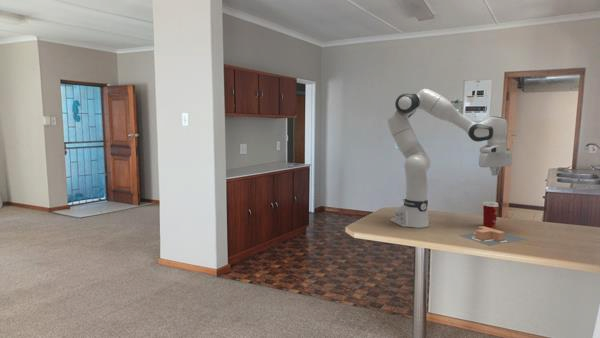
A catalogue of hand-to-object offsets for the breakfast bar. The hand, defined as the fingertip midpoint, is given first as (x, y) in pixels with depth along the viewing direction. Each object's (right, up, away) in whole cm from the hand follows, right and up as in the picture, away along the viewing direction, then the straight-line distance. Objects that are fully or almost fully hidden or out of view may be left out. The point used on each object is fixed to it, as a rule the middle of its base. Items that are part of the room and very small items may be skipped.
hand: (494, 175), depth 208 cm
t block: (-10, -30, -13) cm, 34 cm away
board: (-7, -31, -12) cm, 33 cm away
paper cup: (+1, -29, +8) cm, 30 cm away
